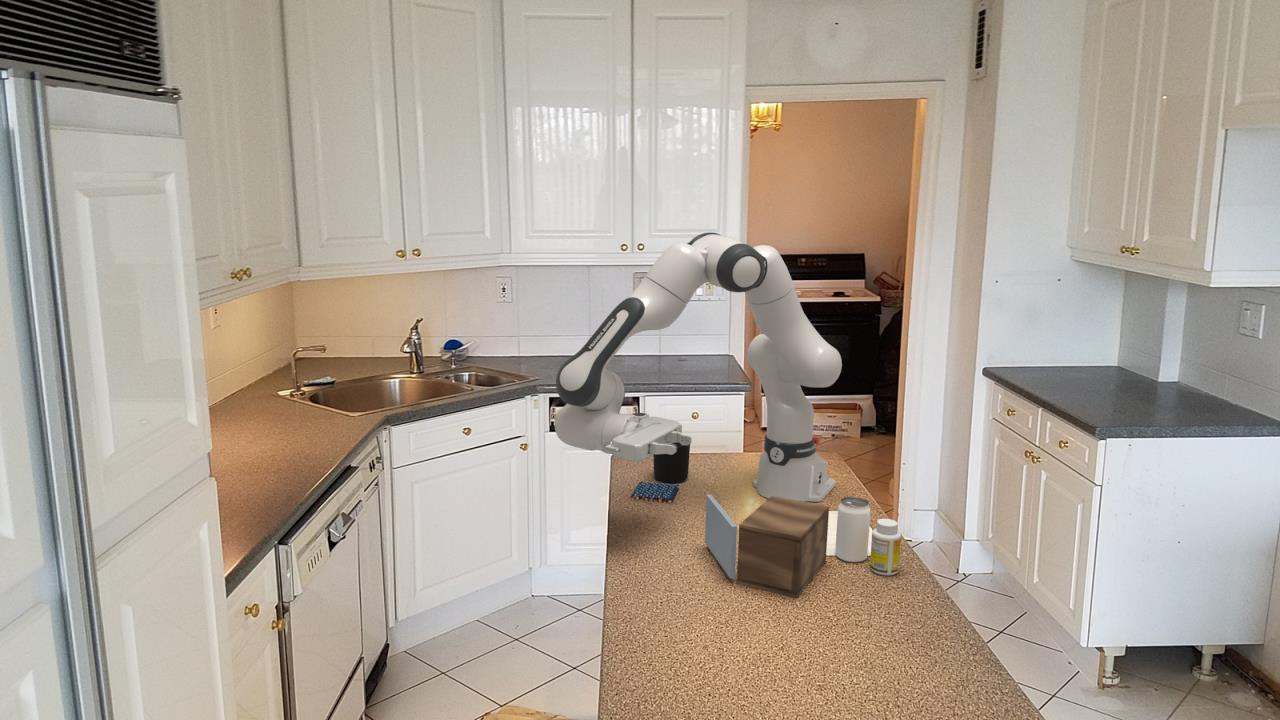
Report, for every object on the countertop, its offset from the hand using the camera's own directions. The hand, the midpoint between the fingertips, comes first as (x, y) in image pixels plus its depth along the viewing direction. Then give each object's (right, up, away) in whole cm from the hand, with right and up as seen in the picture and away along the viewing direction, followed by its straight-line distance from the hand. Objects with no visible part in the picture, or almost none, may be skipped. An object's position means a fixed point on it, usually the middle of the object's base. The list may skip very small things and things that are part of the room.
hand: (682, 445), depth 186 cm
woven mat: (-5, -16, +35) cm, 39 cm away
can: (+35, -23, +1) cm, 42 cm away
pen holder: (-1, -13, +47) cm, 49 cm away
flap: (+7, -22, -4) cm, 24 cm away
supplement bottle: (+40, -25, -6) cm, 47 cm away
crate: (+19, -24, -7) cm, 32 cm away
